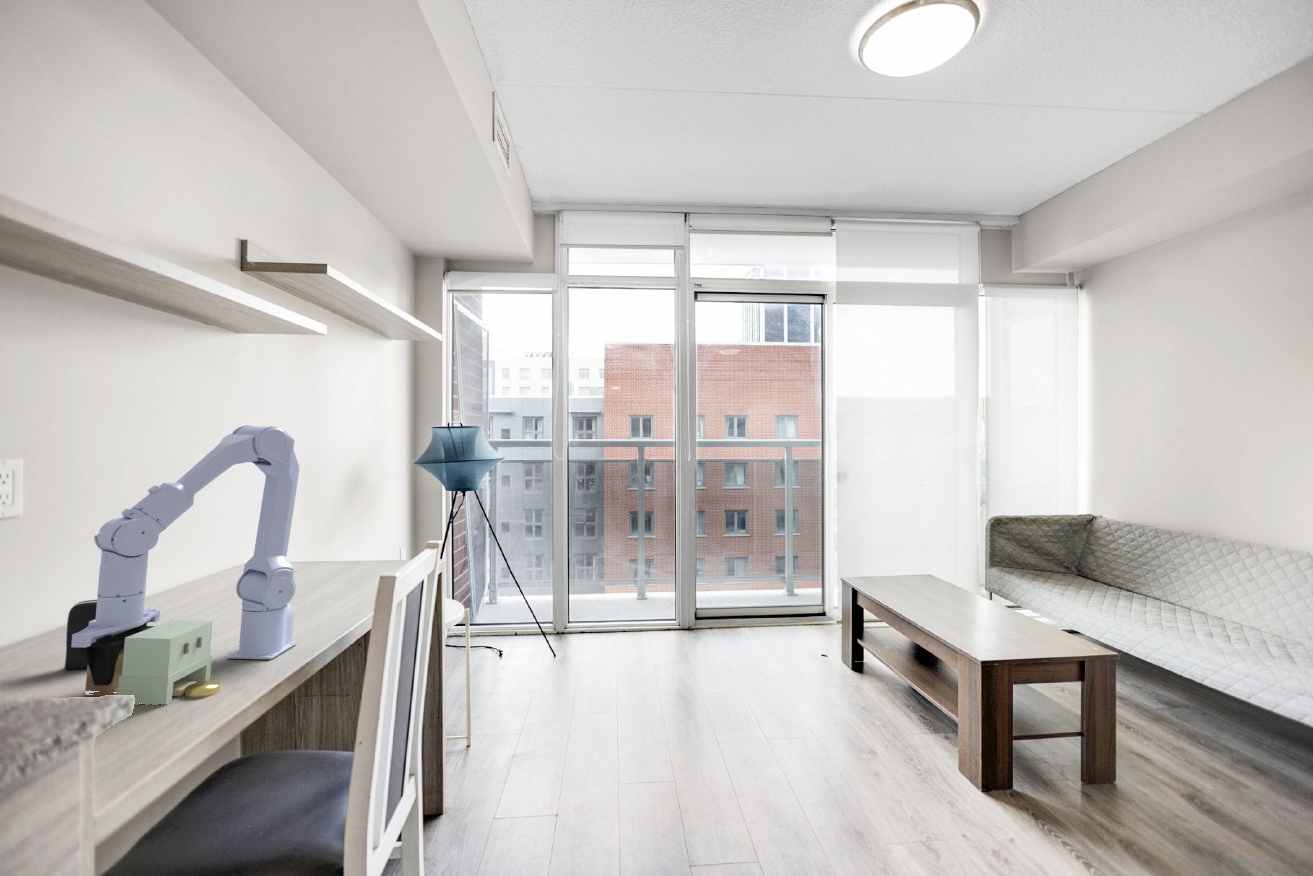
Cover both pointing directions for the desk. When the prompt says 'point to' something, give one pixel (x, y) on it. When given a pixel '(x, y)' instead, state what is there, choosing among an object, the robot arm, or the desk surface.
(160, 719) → the desk surface
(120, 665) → the wooden rectangular block
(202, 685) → the disc
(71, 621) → the battery charger
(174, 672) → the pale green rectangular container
